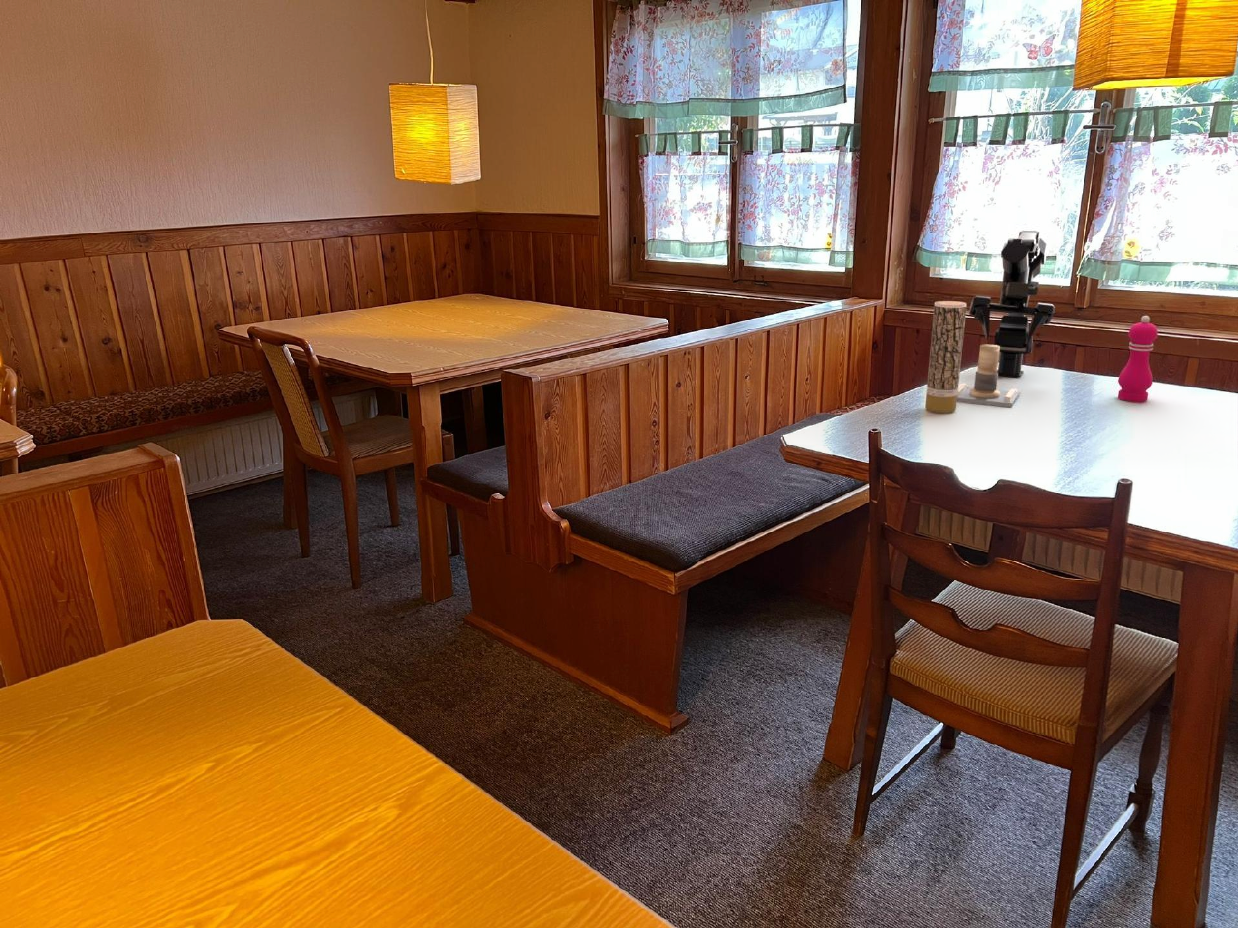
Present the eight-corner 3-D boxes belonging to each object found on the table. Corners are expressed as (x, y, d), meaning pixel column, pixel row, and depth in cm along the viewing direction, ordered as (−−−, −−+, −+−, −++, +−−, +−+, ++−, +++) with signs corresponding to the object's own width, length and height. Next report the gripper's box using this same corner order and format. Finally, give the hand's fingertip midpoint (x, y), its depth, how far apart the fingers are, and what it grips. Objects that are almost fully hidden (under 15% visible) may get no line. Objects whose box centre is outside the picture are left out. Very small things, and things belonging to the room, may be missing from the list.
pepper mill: (1115, 400, 217) (1128, 317, 211) (1115, 393, 223) (1128, 312, 217) (1149, 403, 214) (1164, 319, 207) (1149, 396, 220) (1163, 314, 213)
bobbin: (982, 390, 225) (988, 342, 221) (1005, 396, 219) (1011, 347, 216) (963, 394, 222) (968, 345, 218) (986, 399, 216) (992, 349, 212)
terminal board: (960, 390, 230) (960, 381, 229) (1019, 396, 223) (1020, 387, 222) (949, 400, 220) (950, 392, 219) (1011, 407, 213) (1012, 398, 213)
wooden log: (959, 414, 209) (971, 305, 201) (930, 414, 209) (940, 306, 201) (950, 406, 215) (960, 300, 207) (921, 407, 215) (930, 301, 207)
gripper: (981, 263, 219) (972, 320, 215) (1064, 271, 215) (1057, 330, 210) (972, 286, 230) (964, 341, 225) (1051, 295, 225) (1045, 351, 221)
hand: (1007, 340), depth 220 cm, fingers open, 9 cm apart
